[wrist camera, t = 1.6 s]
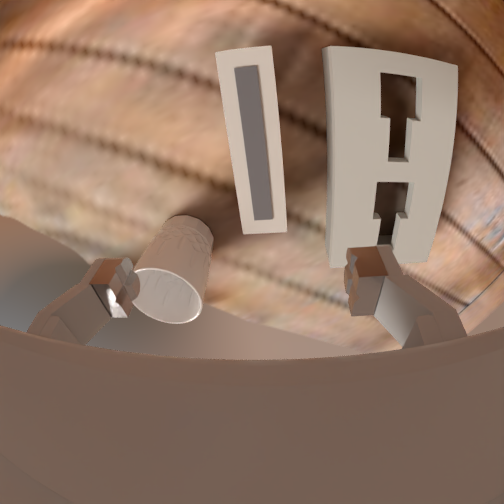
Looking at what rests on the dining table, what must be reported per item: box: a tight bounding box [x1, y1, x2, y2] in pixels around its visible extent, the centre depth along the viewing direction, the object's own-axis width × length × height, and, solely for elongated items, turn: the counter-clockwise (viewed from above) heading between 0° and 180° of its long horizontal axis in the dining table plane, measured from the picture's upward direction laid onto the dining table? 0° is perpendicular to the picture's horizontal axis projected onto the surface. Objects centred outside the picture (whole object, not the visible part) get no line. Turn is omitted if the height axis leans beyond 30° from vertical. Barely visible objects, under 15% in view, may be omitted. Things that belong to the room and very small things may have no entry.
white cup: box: [132, 215, 214, 324], centre depth 30 cm, size 8×8×10 cm
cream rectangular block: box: [215, 46, 287, 234], centre depth 23 cm, size 16×4×6 cm, turn 7°
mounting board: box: [322, 46, 458, 268], centre depth 24 cm, size 22×12×4 cm, turn 7°
